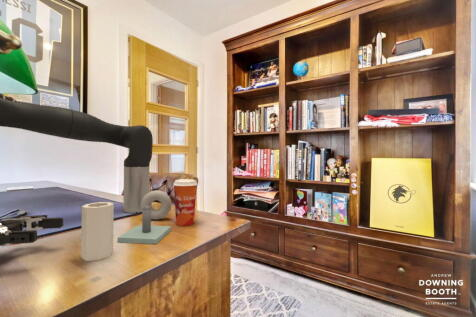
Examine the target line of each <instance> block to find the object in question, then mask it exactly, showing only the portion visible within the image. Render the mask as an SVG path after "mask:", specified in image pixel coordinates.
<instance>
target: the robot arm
mask: <svg viewBox="0 0 476 317" xmlns="http://www.w3.org/2000/svg"><path fill="white" fill-rule="evenodd" d="M0 127H5V128H14V129H20V130H24V131H29V132H33V133H37V134H38V133H39V134H42V135H48V136H53V137H57V138H62V139H70V140H74V141H82V142H83V141H84V142H92V143H94V142H95V143H106V144H111V145H115V146H119V147H123V148H125V149H128V155H127V157H126V158H125V159H124V161H123V204H122V205H123V211H122V212H124V213H126V214H127V213H128V214H129V213H130V214H131V213H132V214H134V213H136V212H137V213H142V209H141V202H142V199H143V198H144V196H145V195H146V194H147V193H149V192H151V191H150V190H151V189H150V188H151V187H150V163H151V161H152V159H153V158H152V156H153V146H154V145H153V143H154V142H153V140H154V139H153V134H152V131H151V130H150V129H149V127H148V126H146V125H141V124H140V125H133V126H132V125H131V126H130V125H129V126H125V125H119V124H114V123H109V122H106V121H105V120H102V119H100V118H98V117H96V116H93V115H92V114H89V113H86V112H83V111H78V110H74V109H72V108H71V109H70V108H65V107H60V106H53V105H52V106H51V105H41V104H29V103H22V102H17V101H13V100H10V99H6V98H3V97H0ZM37 222H38V223H37ZM63 227H64V218H63V217H48V215H47V214H40V215H37V214H36V215H18V216H15V218H3V219H1V220H0V247H9V246H11V245H19V244H34V242H36V241H38V230H44V229H45V230H47V229H61V228H63ZM24 228H25V229H24Z"/></svg>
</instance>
